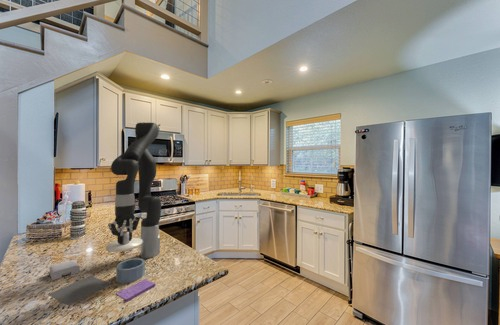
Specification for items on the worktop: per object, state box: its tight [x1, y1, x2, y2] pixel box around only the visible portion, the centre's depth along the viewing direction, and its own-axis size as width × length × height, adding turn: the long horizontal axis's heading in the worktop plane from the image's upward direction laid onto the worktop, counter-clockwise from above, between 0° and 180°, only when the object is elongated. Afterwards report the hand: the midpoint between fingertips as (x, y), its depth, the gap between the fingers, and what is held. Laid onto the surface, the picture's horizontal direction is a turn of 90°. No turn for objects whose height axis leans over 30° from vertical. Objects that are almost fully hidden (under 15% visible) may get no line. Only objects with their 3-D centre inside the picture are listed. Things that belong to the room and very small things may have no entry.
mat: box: [47, 275, 112, 306], centre depth 85 cm, size 15×15×1 cm
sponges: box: [115, 278, 156, 303], centre depth 85 cm, size 7×13×2 cm, turn 151°
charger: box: [49, 259, 80, 281], centre depth 99 cm, size 5×9×15 cm
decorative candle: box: [69, 200, 87, 240], centre depth 146 cm, size 9×9×25 cm
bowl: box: [115, 257, 146, 284], centre depth 95 cm, size 11×11×6 cm
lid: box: [105, 230, 143, 253], centre depth 94 cm, size 14×14×6 cm
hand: (124, 242), depth 94 cm, fingers closed on lid, 3 cm apart
